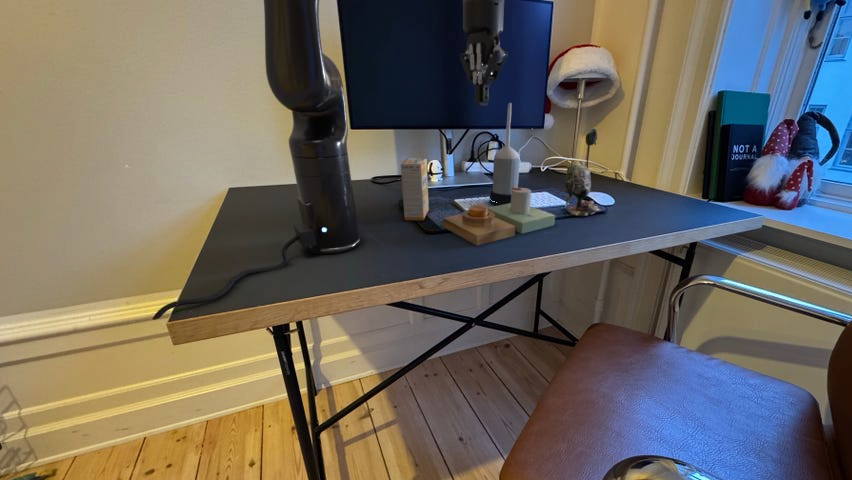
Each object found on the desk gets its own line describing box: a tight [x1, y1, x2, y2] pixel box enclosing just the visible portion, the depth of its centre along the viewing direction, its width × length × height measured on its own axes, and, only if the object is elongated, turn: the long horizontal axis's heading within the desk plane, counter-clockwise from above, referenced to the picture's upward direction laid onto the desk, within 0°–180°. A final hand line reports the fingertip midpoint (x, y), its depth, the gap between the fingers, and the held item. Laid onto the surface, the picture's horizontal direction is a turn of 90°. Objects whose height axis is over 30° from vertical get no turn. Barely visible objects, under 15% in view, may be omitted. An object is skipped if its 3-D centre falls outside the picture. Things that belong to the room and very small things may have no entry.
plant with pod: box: [564, 128, 602, 217], centre depth 90 cm, size 8×11×20 cm
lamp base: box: [442, 209, 516, 246], centre depth 79 cm, size 10×13×4 cm
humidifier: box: [489, 102, 521, 207], centre depth 95 cm, size 8×8×25 cm
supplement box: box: [400, 157, 430, 221], centre depth 86 cm, size 8×5×13 cm, turn 179°
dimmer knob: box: [511, 187, 532, 214], centre depth 84 cm, size 4×4×5 cm
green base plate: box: [487, 203, 556, 235], centre depth 86 cm, size 10×13×3 cm
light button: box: [468, 204, 489, 217], centre depth 78 cm, size 4×4×2 cm
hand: (481, 105), depth 75 cm, fingers closed
